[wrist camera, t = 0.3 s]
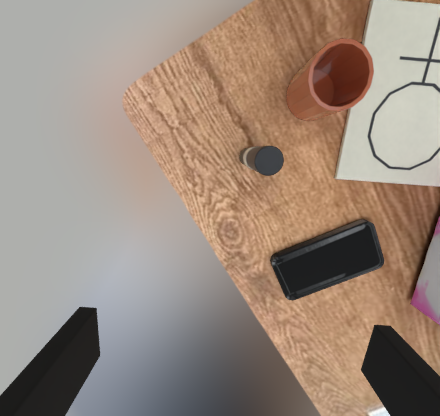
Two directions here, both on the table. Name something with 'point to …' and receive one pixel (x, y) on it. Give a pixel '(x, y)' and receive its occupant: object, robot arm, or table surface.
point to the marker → (262, 159)
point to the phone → (328, 259)
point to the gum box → (430, 281)
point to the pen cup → (331, 80)
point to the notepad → (397, 99)
